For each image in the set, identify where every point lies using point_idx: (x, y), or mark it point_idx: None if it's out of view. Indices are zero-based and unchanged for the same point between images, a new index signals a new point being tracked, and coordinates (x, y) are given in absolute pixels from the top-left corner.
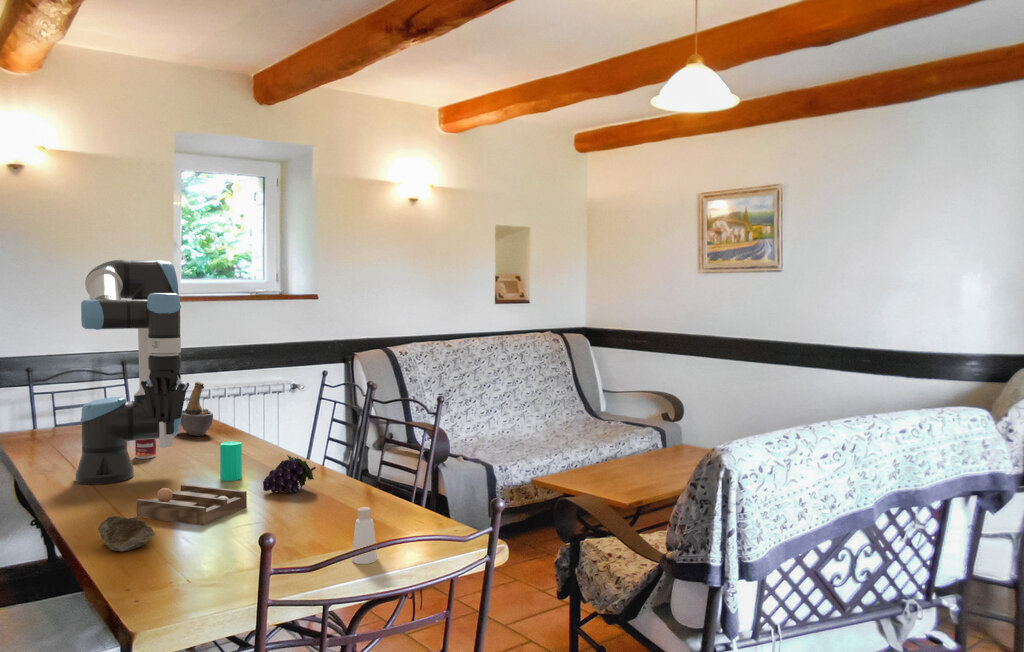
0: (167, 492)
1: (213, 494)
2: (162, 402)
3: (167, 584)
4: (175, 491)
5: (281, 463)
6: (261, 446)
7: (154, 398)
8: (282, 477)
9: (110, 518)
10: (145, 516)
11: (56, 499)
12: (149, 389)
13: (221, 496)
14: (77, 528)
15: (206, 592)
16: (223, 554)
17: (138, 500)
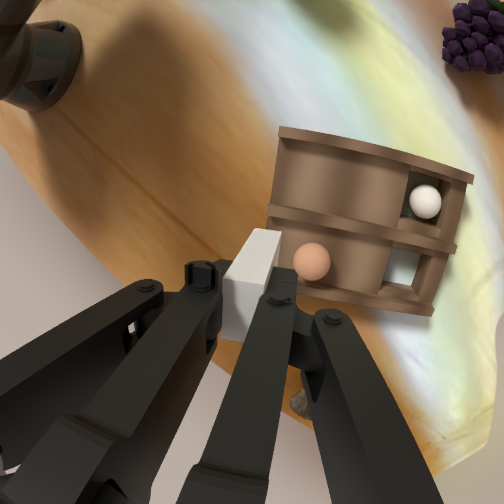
0: (324, 273)
1: (393, 169)
2: (173, 409)
3: (426, 446)
4: (278, 158)
5: (482, 12)
6: None
7: (66, 381)
8: (497, 63)
9: (306, 413)
10: None
11: (61, 198)
12: (19, 450)
13: (429, 205)
14: None
15: (459, 444)
16: (469, 387)
17: None
